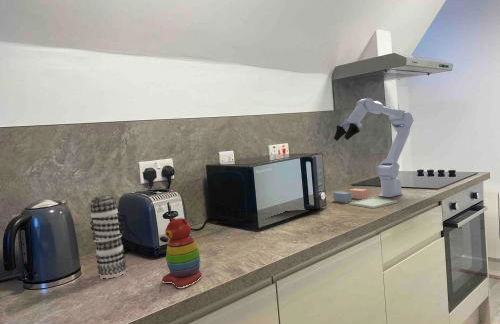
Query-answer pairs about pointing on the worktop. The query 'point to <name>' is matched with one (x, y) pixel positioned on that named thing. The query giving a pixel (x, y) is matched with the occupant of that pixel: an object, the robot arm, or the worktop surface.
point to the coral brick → (359, 193)
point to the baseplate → (373, 202)
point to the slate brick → (342, 197)
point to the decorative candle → (107, 235)
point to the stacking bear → (181, 254)
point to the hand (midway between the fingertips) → (340, 139)
